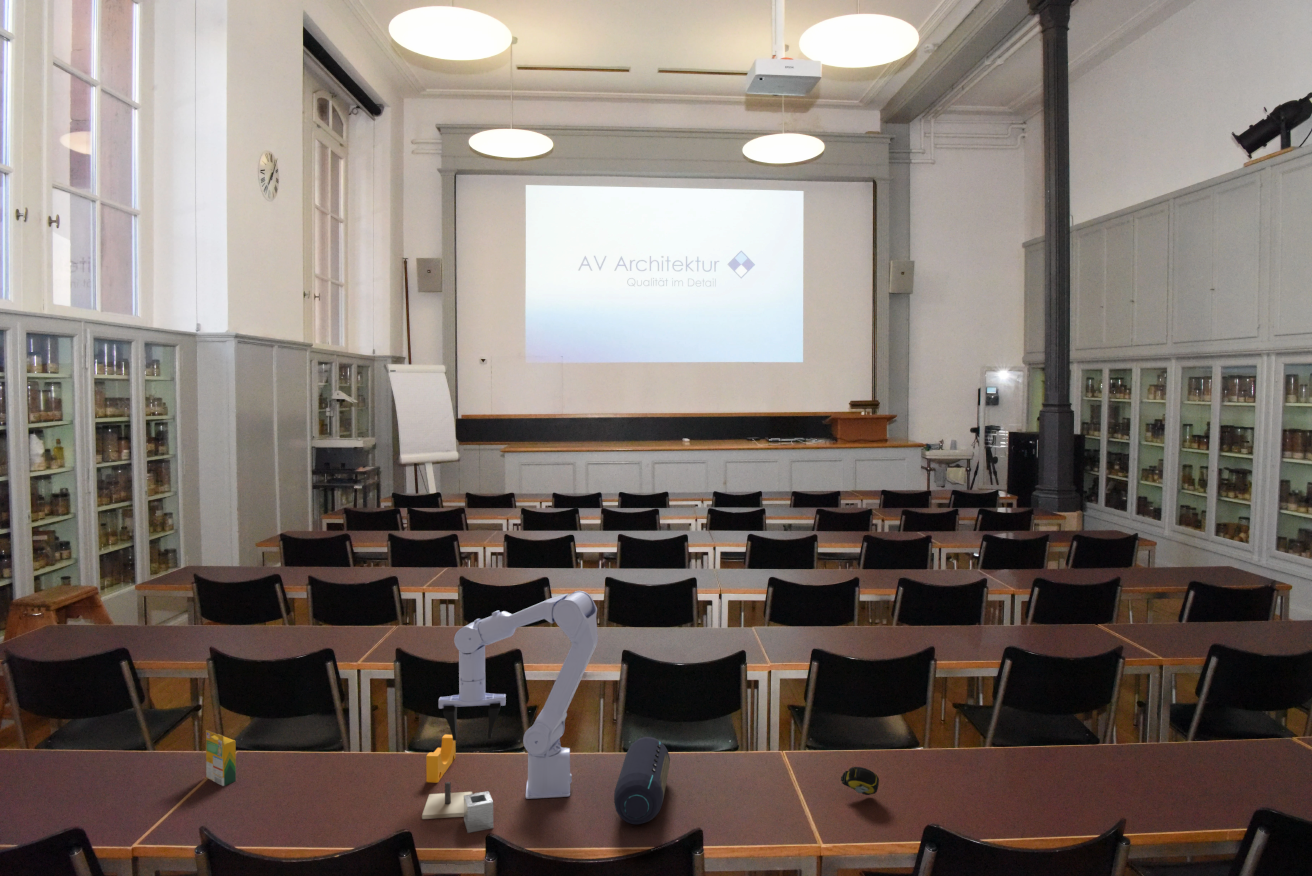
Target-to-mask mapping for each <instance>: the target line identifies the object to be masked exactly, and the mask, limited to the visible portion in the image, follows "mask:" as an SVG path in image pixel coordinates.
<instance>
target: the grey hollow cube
mask: <svg viewBox="0 0 1312 876" xmlns="http://www.w3.org/2000/svg"><path fill="white" fill-rule="evenodd" d="M463 823H464V825H465V828H466V831H467V832H466V833H467V834H470V833H475V832H480V831H485V830H491V829H494V800H493V798H492V796H491V793H490V792H489V790H487V791H482V792H481V791H480V792H475V793H472V794H469V795H464V816H463Z"/></svg>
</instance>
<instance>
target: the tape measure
mask: <svg viewBox="0 0 1312 876" xmlns="http://www.w3.org/2000/svg"><path fill="white" fill-rule="evenodd" d="M840 781H841V784H842V785H844V786H846V787H847V788H849V789H851V790H853V791H856V793H859V794H862V795H865V796H871V795H874V794H876V793H877V792H878V789H879V786H880V785H879V783H880V779H879V776H878V775H877V774H876V773H875V772H874V771H872V770H871V769H868V768H865V767H861V766H853V767H850V768H849V769H848V770H845V771H843V773H842V775H841V778H840Z"/></svg>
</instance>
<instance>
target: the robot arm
mask: <svg viewBox="0 0 1312 876" xmlns="http://www.w3.org/2000/svg"><path fill="white" fill-rule="evenodd" d="M597 613H598V608H597V605H596V603H595V601H594V600H593V597H592V596H591V595H590V594H589V593H588V592H586V591H583V590H576V591H573V592H572V593H571V594H569V593H565V594H561V595H557V596H555V597H551V598H547V599H545V600H544V601H541V602H539V603H536V604H534V605H531V606H529V607H527V608H523V609H522V610H519V611H517V612H515V613H510V612H508V611H506V610H503V611H500V610H496V611H493V612H491V615H490V616H488V617H485V618H476V619H475V620H474V621H472V622H470V623H468V624H467V625H465V626H462V627H461V628H459V629H458V630H457V632H455V635H454V638H453V642H454V646H455V648H456V649H457V651H458V673H459V674H458V677H459V678H458V681H459V682H458V684H459V685H458V688H459V689H458V690H459V693H458V694H453V695H449V696H448V695H447V696H440V697H439V698H438V709H443V712H442V714H443V716H444V718H445V720H446V722H447V724H448V726H449V729H450V732H451V735H452V737H453V741H455V740H456V741H457V738H458V724H457V723H458V720H457V719H458V714H457V713H458V707H477V706H478V707H480V706H488V709H487V713H488V730H487V731H488V732H487V733H488V734H487V737H488V738H487V739H488V740H489V739H492V737H493V732H494V731H493V730H494V725H495V723H496V720H497V718H498V715H499V713H500V710H501V706H502V707H503V706H506V702H507V701H506V700H507V698H506V696H507V694H506V693H489V692H486V646H489V645H491V644H494V643H498V642H500V641H502V640H505V639H507V638H511V637H512V636H514V634H515V632H516V629H518V628H520V627H524V626H526V625H530V624H533V623H536V622H539V621H541V620H545V621H547V622H548V623H550V624H554V623H556V624H557V626H558V627H559V628H560V629H561V631H562V632H563V633H564V634H565V635H566V636H567V638H568V639H569V641H570V644H571V646H570V648H569V651H568V653H567V655H566V657H565V659H564V661H563V664H562V666H561V668H560V670H559V672H558V675H557V677H556V679H555V680H554V684H553V686H552V687H551V690H550V692H549V694H548V696H547V699H546V701H545V703H544V706H543V707H542V709H541V711H540V712H539V714H538V715H537V717H536V719H535V721H534V722H533V724H532V726H530V727H529V728H528V729H526V731H525V732H524V734H523V738H522V739H523V740H522V743H523V746H524V748H525V750H526V751H527V780H526V787H525V788H526V789H525V799H526V800H528V799H531V800H533V799H535V800H536V799H548V798H563V797H570V796H571V783H572V782H573V781H572V780H573V779H572V777H573V776H572V773H571V748H570V747H562V745H561V738H562V736H563V735H564V733H565V728H566V727H565V726H566V725H565V723H566V718H567V717H568V713H567V712H568V708H569V707H570V704H571V702H572V701H573V698H574V696H575V693H576V691H577V690H578V687H579V685H580V682H581V680H582V678H583V676H584V673H585V671H586V670H587V667H588V665H589V663H590V661H591V658H592V656H593V654H594V652H595V649H596V647H597V645H598V642H599V635H598V634H599V633H598V623H597Z"/></svg>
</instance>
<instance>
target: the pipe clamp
mask: <svg viewBox="0 0 1312 876" xmlns="http://www.w3.org/2000/svg"><path fill="white" fill-rule="evenodd" d="M456 743H457V739H456V740H455V741H453V737H452V734H444V735H443V736H442V737H441V746H440V747H437V748H436V749H435V750H434V751H433V752H432V751H431V752H428V753H427V755H426V758H425V759H426V769H425V770H426V773H425V774H426V783H435V784H436V783H437V784H438V783H439V782H440V780H441V779H442V778H443V776H444V775H445V773H446V772H447V771H448V769H449V767H450V766H451V765H452V764H453V762H454V760H455V759H456V756H457V755H456V754H457V753H456V751H457V747H456V745H457V744H456Z"/></svg>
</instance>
